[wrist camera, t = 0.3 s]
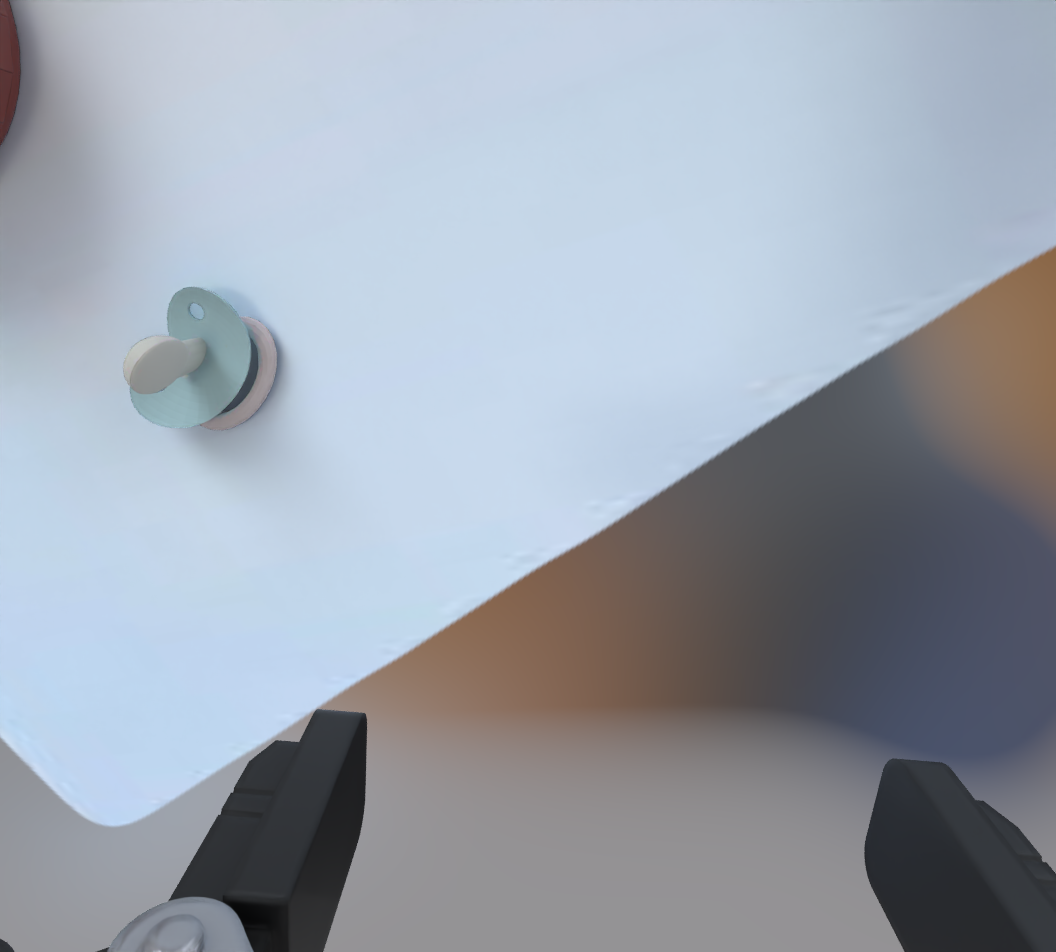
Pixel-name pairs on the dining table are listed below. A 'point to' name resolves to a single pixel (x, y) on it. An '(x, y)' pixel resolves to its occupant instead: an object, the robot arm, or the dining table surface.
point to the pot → (8, 68)
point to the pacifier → (200, 365)
